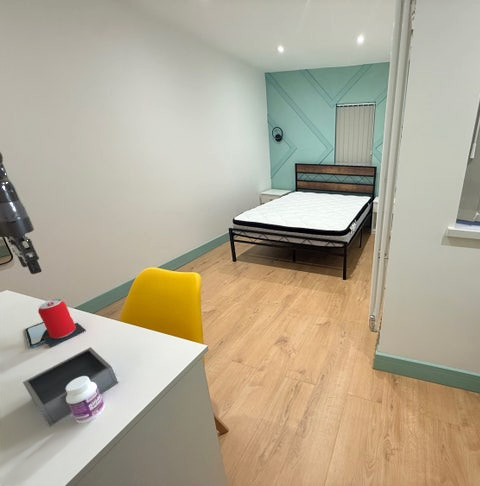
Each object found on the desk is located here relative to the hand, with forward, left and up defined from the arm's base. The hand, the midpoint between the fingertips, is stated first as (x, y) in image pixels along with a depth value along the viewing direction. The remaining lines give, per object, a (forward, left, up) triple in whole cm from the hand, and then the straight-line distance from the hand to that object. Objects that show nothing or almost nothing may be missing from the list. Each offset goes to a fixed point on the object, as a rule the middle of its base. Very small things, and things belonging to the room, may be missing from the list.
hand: (32, 269), depth 78 cm
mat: (0, 0, -25) cm, 25 cm away
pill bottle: (-6, -41, -25) cm, 49 cm away
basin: (-6, -30, -25) cm, 40 cm away
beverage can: (0, 0, -24) cm, 24 cm away
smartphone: (-3, +8, -26) cm, 27 cm away
